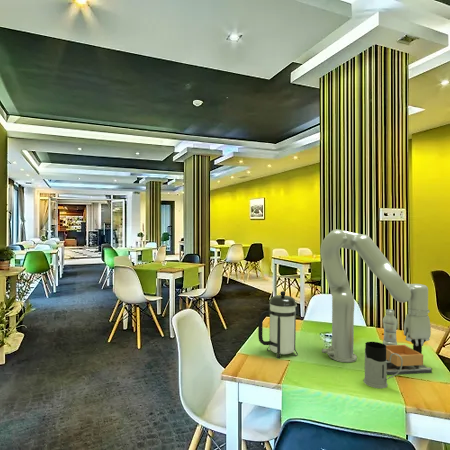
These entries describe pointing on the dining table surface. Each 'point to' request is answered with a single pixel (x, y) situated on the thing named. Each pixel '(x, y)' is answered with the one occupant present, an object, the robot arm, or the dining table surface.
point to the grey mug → (377, 365)
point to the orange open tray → (404, 356)
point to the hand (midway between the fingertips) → (417, 353)
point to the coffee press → (280, 325)
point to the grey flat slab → (407, 369)
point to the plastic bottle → (390, 328)
